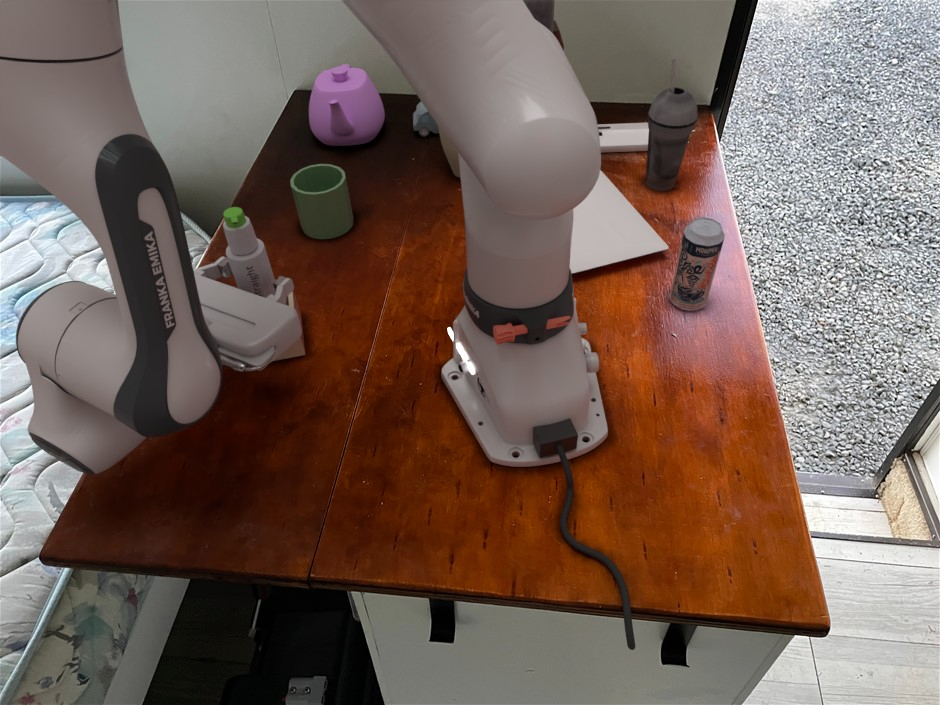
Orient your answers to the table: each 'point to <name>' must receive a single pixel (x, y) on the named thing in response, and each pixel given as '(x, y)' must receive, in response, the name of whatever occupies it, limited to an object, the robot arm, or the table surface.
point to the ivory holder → (298, 346)
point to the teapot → (345, 107)
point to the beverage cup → (668, 134)
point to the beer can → (696, 263)
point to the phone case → (624, 137)
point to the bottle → (247, 255)
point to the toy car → (424, 121)
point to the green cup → (322, 201)
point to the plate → (609, 230)
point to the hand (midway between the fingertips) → (258, 271)
